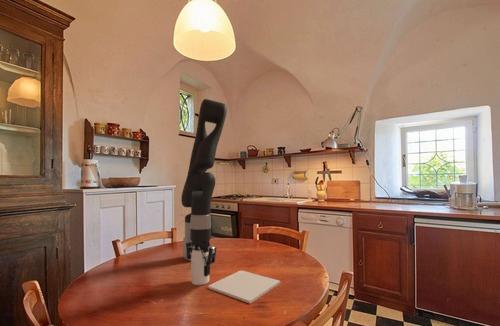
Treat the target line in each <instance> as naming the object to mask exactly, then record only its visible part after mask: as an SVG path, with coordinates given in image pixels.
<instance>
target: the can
mask: <svg viewBox="0 0 500 326" xmlns="http://www.w3.org/2000/svg"><path fill="white" fill-rule="evenodd" d="M201 251H203V250H201ZM201 251H200V250H197V249H196V250H194V249H193V251H192V256H191V261H190V266H191V269H190V275H191V276H190V277H191V279H190V281H191V282H190V283H192V285H194V286H199V287H200V286H204V285H207V284H208V283H209V282H210V274H209V275H208V276H204V259H202V253H201ZM203 255H204V256H208V252H205V253H204V252H203ZM206 261H208V258H206Z"/></svg>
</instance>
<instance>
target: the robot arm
mask: <svg viewBox="0 0 500 326" xmlns="http://www.w3.org/2000/svg"><path fill="white" fill-rule="evenodd" d="M227 111H228V106H227V105H226V104H225V103H223V102H220V101H215V100H212V99H208V98H204V99H203V100H202V101H201V104H200V107H199V114H198V120H197V124H196V125H197V126H196V127H197V128H196V133H195V138H194V142H193V147H192V150H191V155H190V160H189V167H188V171H187V176H186V179H185V183H184V185H183V189H182V192H181V199H180V202H181V205H182V206H183V207H184V208H190V209H191V210H190V213H188V214H187V215H185V216H184V237H183V241H182V242H183V244H182V245H183V246H182V247H183V248H182V249H183V252H182V253H183V254H182V258H183V259H184V261H187V262H191V256H192V251H193V249H194V250H196V249H197V250H200V251H201V250H203V251H201V253H202V259H204V276H208V275H209V276H210V273H211V265H212V264H215V263H216V253H217V247H216V246H212V245H211V244H210V240H211V239H212V216H211V215H212V214H211V201H212V197H213V194H214V191H215V187H216V177H215V175H214V174H213V173H212V172H210V171H209V172H207V171H208V170H211V169H212V168H213V167H214V165H215V160H216V153H217V148H218V145H219V141H220V139H221V134H222V132H223V128H224V125H225V121H226V119H227V118H226V117H227ZM206 123H209V124H214V125H215V127H214V128H213V129H212V131H211V132H210V133H209V134H207V133H208V132H207V131H206V130H207V128H206ZM203 252H204V253H205V252H208V256H204V255H203ZM206 258H208V261H206Z"/></svg>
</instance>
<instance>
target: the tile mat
mask: <svg viewBox="0 0 500 326" xmlns="http://www.w3.org/2000/svg"><path fill="white" fill-rule="evenodd" d="M280 284H281V280H278V279H275V278H271V277H267V276H262V275H260V274H257V273H253V272H249V271H245V270H241V269H240V270H238V271H237V272H234V273H232V274H230V275H228V276H226V277H223V278H221V279H220V280H217V281H216V282H214V283H211V284H209V285H208V286H207V289H208V290H212V291H214V292H217V293H219V294H222V295H226V296H228V297H231V298H232V299H233V298H234V299H236V300H239V301H241V302H244V303H248V304H253V302H255V301H257V300H258V299H260V298H261V297H262V296H264V295H265V294H267V293H269V292H270V291H271V290H273V289H274V288H275V287H277V286H278V285H280Z"/></svg>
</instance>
